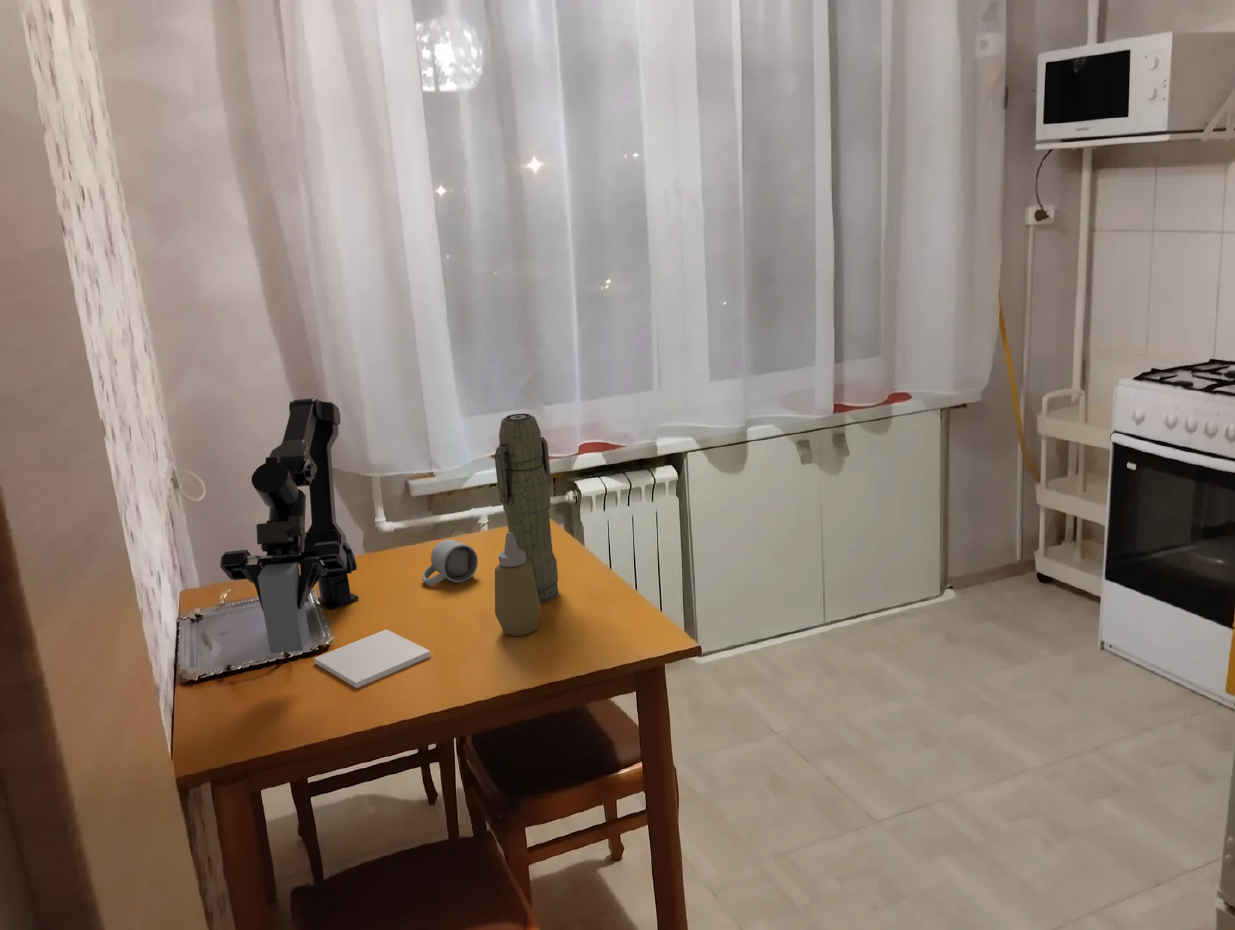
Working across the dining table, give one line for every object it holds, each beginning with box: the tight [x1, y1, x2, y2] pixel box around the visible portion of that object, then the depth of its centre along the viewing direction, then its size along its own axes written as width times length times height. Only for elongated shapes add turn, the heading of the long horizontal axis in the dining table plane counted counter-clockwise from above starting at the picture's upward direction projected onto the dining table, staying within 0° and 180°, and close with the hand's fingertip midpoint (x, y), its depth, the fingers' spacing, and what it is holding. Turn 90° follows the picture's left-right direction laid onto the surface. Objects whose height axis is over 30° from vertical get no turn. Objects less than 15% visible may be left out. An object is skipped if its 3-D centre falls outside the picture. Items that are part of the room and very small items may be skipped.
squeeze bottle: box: [494, 532, 542, 637], centre depth 171 cm, size 8×8×18 cm
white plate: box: [313, 629, 432, 689], centre depth 166 cm, size 14×14×1 cm
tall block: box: [258, 563, 311, 654], centre depth 156 cm, size 5×5×13 cm
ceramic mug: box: [421, 539, 479, 587], centre depth 199 cm, size 11×8×8 cm
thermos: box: [494, 413, 559, 604], centre depth 183 cm, size 9×12×35 cm
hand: (282, 610), depth 155 cm, fingers closed on tall block, 5 cm apart
